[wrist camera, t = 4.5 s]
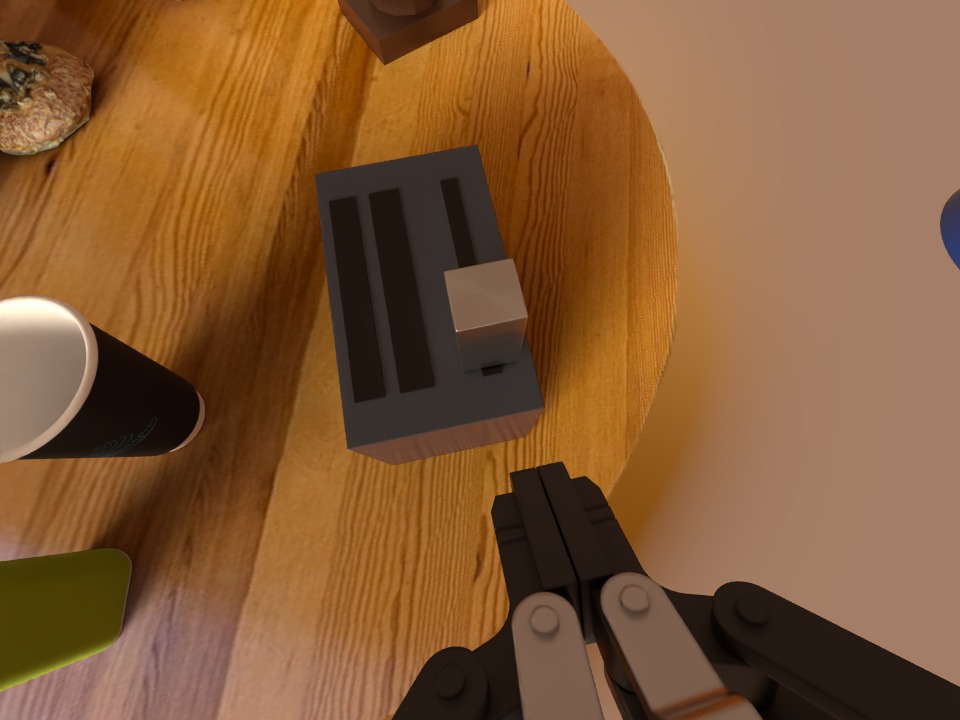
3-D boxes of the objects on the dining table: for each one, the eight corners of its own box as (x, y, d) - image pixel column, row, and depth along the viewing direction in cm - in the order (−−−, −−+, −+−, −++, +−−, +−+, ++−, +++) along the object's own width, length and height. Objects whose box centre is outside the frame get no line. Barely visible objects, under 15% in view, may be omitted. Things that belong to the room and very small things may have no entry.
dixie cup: (186, 496, 29) (13, 496, 18) (86, 449, 30) (-131, 422, 19) (250, 386, 31) (128, 329, 20) (155, 345, 32) (-7, 271, 21)
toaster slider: (518, 361, 20) (528, 317, 15) (463, 372, 20) (455, 331, 15) (506, 313, 21) (513, 257, 16) (453, 324, 21) (442, 270, 16)
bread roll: (-42, 85, 39) (-105, 27, 34) (96, 55, 42) (56, -2, 37) (-15, 181, 37) (-79, 133, 32) (130, 143, 39) (91, 93, 35)
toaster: (526, 436, 30) (545, 407, 20) (392, 465, 29) (346, 449, 20) (480, 243, 34) (477, 142, 24) (363, 265, 34) (313, 172, 24)
